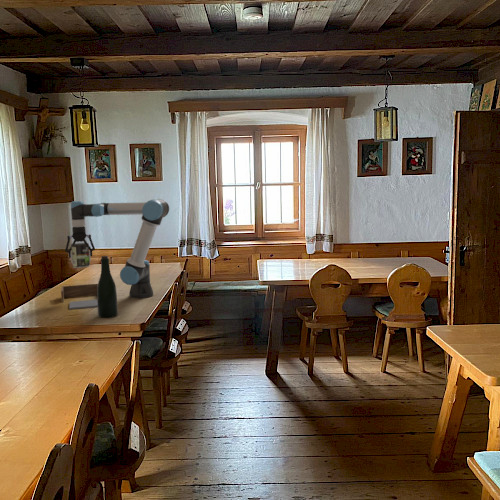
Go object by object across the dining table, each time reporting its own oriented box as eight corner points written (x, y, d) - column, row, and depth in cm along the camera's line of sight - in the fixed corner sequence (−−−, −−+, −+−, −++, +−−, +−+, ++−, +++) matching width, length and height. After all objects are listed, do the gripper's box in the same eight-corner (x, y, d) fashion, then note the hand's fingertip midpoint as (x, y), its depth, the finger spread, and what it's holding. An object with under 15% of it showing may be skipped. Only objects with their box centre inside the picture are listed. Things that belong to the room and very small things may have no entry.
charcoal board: (98, 306, 297) (98, 305, 297) (69, 309, 292) (69, 307, 292) (97, 301, 312) (97, 299, 312) (69, 303, 307) (69, 301, 307)
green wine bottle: (101, 313, 282) (98, 254, 278) (120, 313, 282) (117, 254, 278) (95, 318, 272) (91, 257, 268) (114, 318, 272) (111, 257, 267)
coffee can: (93, 265, 318) (91, 243, 316) (84, 268, 308) (82, 245, 306) (78, 265, 320) (77, 243, 318) (69, 268, 310) (67, 245, 308)
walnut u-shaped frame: (104, 298, 318) (103, 287, 317) (61, 302, 310) (61, 291, 309) (103, 293, 332) (102, 283, 331) (62, 297, 324) (61, 286, 323)
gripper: (97, 225, 317) (100, 260, 320) (59, 226, 311) (62, 262, 314) (98, 226, 310) (100, 261, 313) (58, 227, 304) (61, 264, 307)
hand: (81, 262), depth 313 cm, fingers closed on coffee can, 10 cm apart
